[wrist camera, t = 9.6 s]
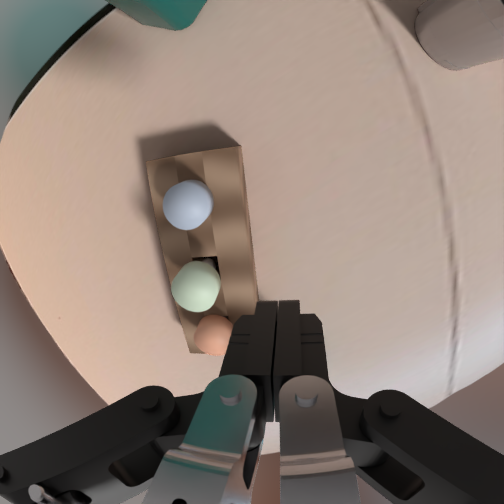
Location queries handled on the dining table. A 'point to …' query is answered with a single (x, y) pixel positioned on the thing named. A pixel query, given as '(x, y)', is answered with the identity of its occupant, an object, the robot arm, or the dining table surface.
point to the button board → (209, 231)
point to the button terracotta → (213, 334)
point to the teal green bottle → (161, 12)
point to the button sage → (196, 285)
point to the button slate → (188, 204)
